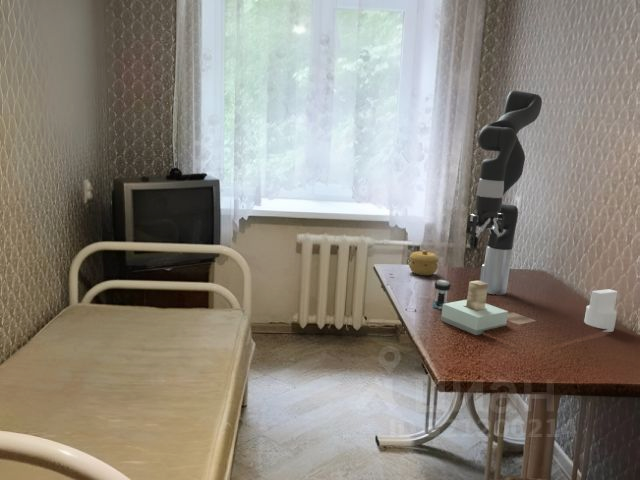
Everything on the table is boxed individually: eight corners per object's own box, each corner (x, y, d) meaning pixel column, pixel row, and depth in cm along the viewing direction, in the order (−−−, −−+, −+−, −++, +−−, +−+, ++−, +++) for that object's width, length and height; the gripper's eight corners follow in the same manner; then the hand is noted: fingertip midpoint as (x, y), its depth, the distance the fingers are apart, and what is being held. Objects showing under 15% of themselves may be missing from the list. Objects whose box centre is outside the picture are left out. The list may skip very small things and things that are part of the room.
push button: (452, 309, 201) (455, 281, 199) (451, 314, 196) (455, 285, 194) (432, 306, 202) (435, 278, 200) (430, 311, 197) (434, 282, 195)
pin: (464, 318, 188) (469, 281, 185) (472, 317, 190) (477, 280, 187) (474, 322, 184) (479, 285, 182) (483, 320, 187) (488, 283, 184)
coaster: (495, 318, 195) (495, 315, 194) (512, 315, 200) (512, 312, 200) (518, 327, 188) (519, 324, 187) (535, 323, 193) (536, 320, 193)
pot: (430, 279, 238) (433, 255, 236) (403, 273, 244) (405, 249, 242) (440, 274, 248) (443, 250, 246) (414, 268, 254) (416, 245, 252)
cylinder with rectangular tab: (601, 333, 188) (607, 296, 186) (577, 323, 196) (583, 288, 194) (620, 330, 193) (626, 294, 190) (596, 321, 200) (602, 286, 198)
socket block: (440, 320, 189) (442, 303, 188) (470, 314, 197) (472, 298, 196) (476, 335, 178) (478, 317, 177) (505, 328, 186) (508, 311, 185)
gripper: (494, 192, 186) (487, 243, 190) (464, 193, 178) (457, 246, 181) (515, 196, 180) (507, 248, 184) (484, 197, 172) (477, 252, 175)
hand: (482, 247), depth 183 cm, fingers open, 8 cm apart
